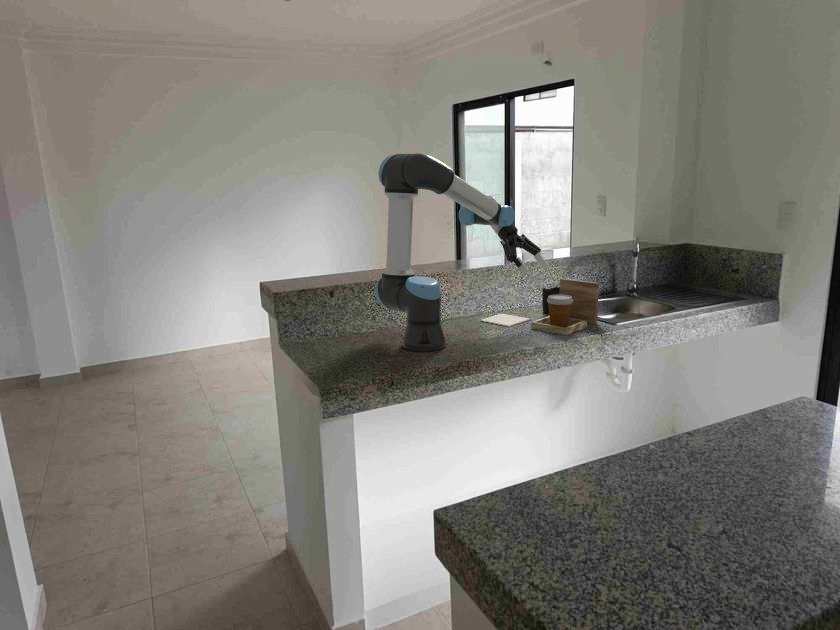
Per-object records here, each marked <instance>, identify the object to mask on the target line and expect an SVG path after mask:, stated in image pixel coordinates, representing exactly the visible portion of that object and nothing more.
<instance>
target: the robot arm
mask: <svg viewBox="0 0 840 630" xmlns="http://www.w3.org/2000/svg"><path fill="white" fill-rule="evenodd" d="M378 179H379V180H378V181H379V182H380V183H381V184H380V185H381V186H383V188H384V195H385V196H386V197H387V198H388V211H387V214H388V215H387V240H386V242H387V243H386V267H385V269H383V270H382V272H381V277H379V279H378V280H377V282H376V283H375V286H374V294H375V295H374V296H375V298H376V301H377V302H378V303H379V304H380V306H382V307H384V308H387V309H388V310H392V311H397V312H398V311H399V312H402V313H405V314H406V327H405V329H404V330H405V331H404V333H403V334H404V335H403V337H402V342H401V343H402V348H404V349H406V350H408V351H411V352H420V353H421V352H424V353H425V352H435V351H439V350H442V349H444V348H446V346H447V337H446V336H445V334H444V329H443V327H442V317H441V316H442V314H441V312H442V300H441V299H442V291H441V284H440V282H439V281H438V280H437V279H435V278H432V277H428V276H422V275H421V276H418V275H417V276H415V274H416V273H415V272H414V270H412V268H411V267H412V266H411V265H412V245H413V244H412V238H413V217H414V216H413V215H414V200H415V199H416V198H417V196H419V190H424V191H425V190H428V191H431V192H433V193H435V194H437V195H444V196H446V197H447V198H449V199H451V200H452V201H454V202H455V203H457V204H459V205H460V206H462V207H460V209H459V211H458V219H459V222H460V223H461V224H462V225H463V226H465V227H467V226H468V227H469V226H473V225H480V226H482V225H483V226H490V228H492V230H493V231H494V233H495V234H496V235H497V237H498V238H499V239H500V241H499V243H500V245H501V246H502V248H503V251H504V254H505V257H506V260H507V261H508V262H509V263H511V264H512V263H514V264H515V266H516V267H517V268H518V269H519V271H520V272H521V274H523V276H524V275H526V274H527V273H528V272H529V271H530V269H529V268H528V266H527V265H526V264H525V263H524V261H523V260H522V258H521V257H519V256H518V253H517V249H523V250H524V251H525V252H528V253H529V254H531V255H532V256H533V258H534V260H535V261H536V262H537V263H538V265H540V267H541V268H542V269H543V270H546V269H547V267H549V263H548V262H547V260H546V259H545V258H544V256H543V255H541V251H542V248H540V247H539V246H538V245H536V244H535V243H534V242H533V241H531V240H530V239H529V238H528V237H527V236H526V235H525V234H523V233H522V234H521V235H519V234H518V230H519V229H518V227H517V226H516V225H515V224H514V222H515V218H516V211H515V210H514V207H512V206H510V205H505V204H504V205H503V204H500V203H499V202H497V200H496V199H495V198H493V196H492V195H490V194H485V193H483V192H481V191H480V190H479V189H478V188H476V187H474V186H473V185H471V184H470V183H468V182H467V181H465V180H464V179H462V178H461V177H459V176H458V175H456V174H455V171H454V170H453V169H452V168H451V167H450V166H448V165H447V164H446V163H443V162H442V161H440V160H438V159H436V158H435V157H433V156H430V155H427V154H425V153H419V152H418V153H417V152H416V153H396V154H391V155H389V156H387V157H385V158H384V159H383V160H382V162H381V163H380V165H379V168H378Z"/></svg>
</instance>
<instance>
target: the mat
mask: <svg viewBox="0 0 840 630" xmlns="http://www.w3.org/2000/svg"><path fill="white" fill-rule="evenodd" d="M530 319H531V318H529V317H523V316H517V315H513V314H512V315H510V314H506V313H498V314H495V315H491V316H489V317H486V318H483V319H482V318H481V319H480V322H481V321H483V323H486V322H488V323H487V324H491V323H493V324H492V325H496V324H497V325H496V326H501V325H502V327H506V326H507V327H508V328H511V327H514V326H517V325H519V324H522V323H525V322H528V321H531V320H530Z"/></svg>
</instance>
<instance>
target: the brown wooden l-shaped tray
mask: <svg viewBox="0 0 840 630" xmlns="http://www.w3.org/2000/svg"><path fill="white" fill-rule="evenodd" d="M559 287H560V292H559V295H568V296H571V297H572V300H573V302H572V304H571V310H570V316H569V322H568V327H566V328H565V327H559V326H554V325H550V317H549V315H548V316H545V317H543V318H540V319H537V320H534V321H531V324H530V326H531V327H530V329H532V330H536V331H541V330H543V331H542V332H546V331H548V332H547V333H552V332H553V333H552V334H557V333H558V335H562V334H563V335H562V336H568V335H571V334H573V333H576V332H578V331H581V330H584V329H585V327H586V328H588V324H589V323H591V325H597V324H598V311H599V310H598V309H599V293H600V292H599V291H600V283H599V282H593V281H587V280H586V281H585V280H577V279H569V278H560V279H559ZM548 323H549V324H548ZM596 323H597V324H596Z"/></svg>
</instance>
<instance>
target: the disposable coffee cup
mask: <svg viewBox="0 0 840 630" xmlns="http://www.w3.org/2000/svg"><path fill="white" fill-rule="evenodd" d="M547 301H548V307H549V314H548V316H549V317H550V323H549V325H554V326H559V327H565V328H566V327H569V325H568V322H569V316H570V310H571V304H572V302H573V300H572V297H571V296H568V295H550V296H548V299H547Z"/></svg>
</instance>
